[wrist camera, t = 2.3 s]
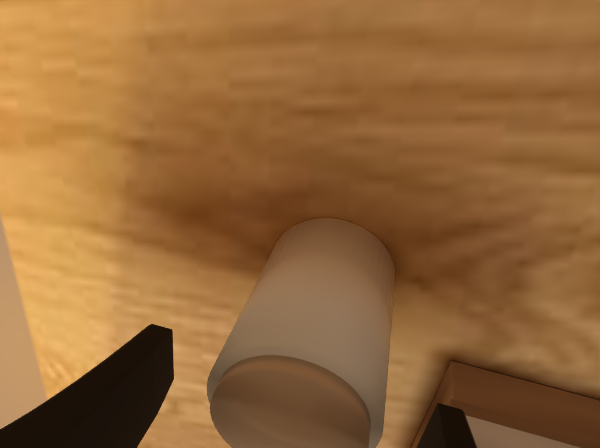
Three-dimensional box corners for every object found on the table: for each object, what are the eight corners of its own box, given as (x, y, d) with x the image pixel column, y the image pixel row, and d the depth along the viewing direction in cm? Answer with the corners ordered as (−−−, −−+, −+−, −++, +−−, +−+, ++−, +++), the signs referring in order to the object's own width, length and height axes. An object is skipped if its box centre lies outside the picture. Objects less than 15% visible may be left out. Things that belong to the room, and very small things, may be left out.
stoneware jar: (277, 204, 15) (199, 339, 10) (410, 235, 15) (403, 396, 9) (266, 303, 18) (198, 454, 12) (379, 332, 17) (360, 504, 12)
